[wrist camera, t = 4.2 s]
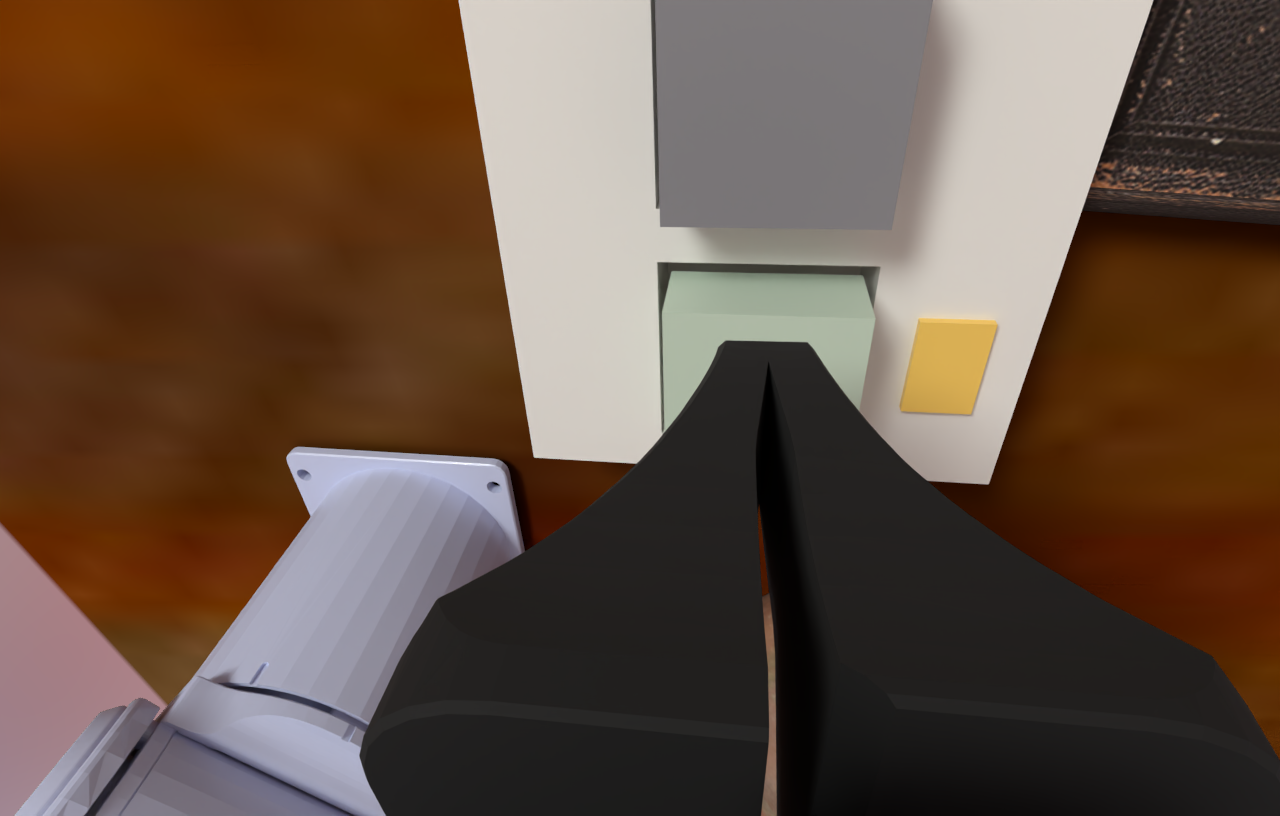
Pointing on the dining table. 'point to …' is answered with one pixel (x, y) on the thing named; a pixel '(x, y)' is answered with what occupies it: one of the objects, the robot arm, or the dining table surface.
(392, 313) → the dining table surface
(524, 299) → the white flat block
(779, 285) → the key sage
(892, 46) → the key charcoal
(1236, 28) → the hardcover book
